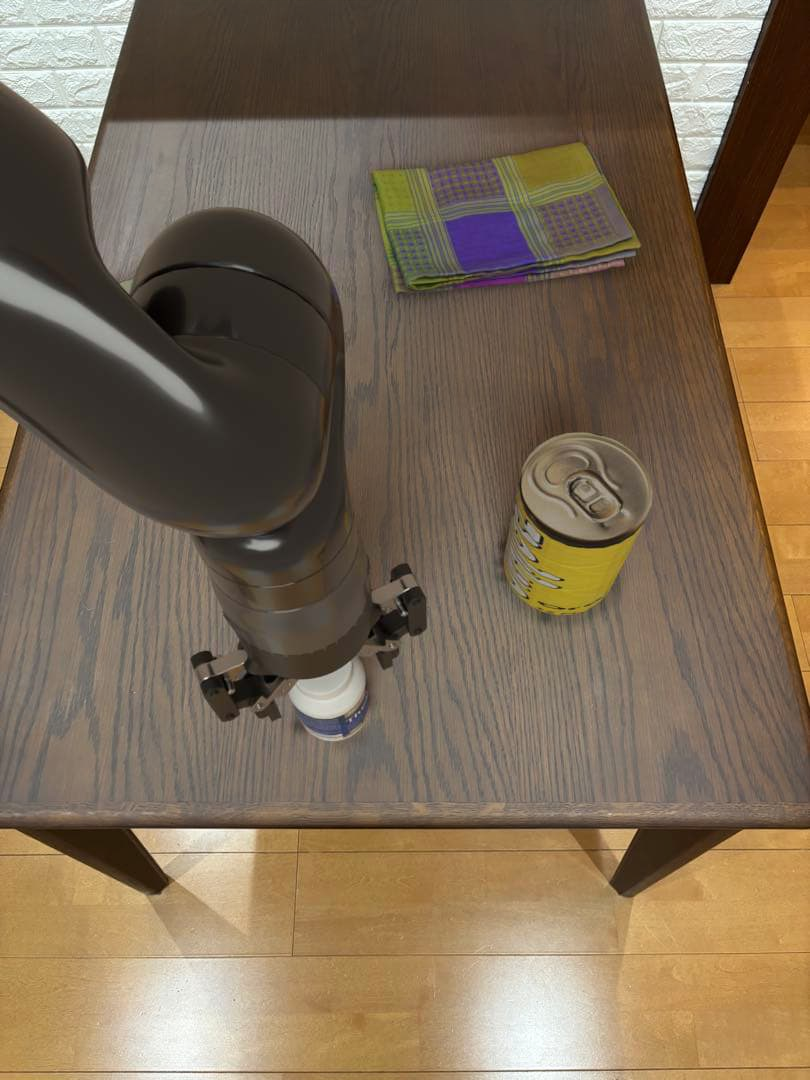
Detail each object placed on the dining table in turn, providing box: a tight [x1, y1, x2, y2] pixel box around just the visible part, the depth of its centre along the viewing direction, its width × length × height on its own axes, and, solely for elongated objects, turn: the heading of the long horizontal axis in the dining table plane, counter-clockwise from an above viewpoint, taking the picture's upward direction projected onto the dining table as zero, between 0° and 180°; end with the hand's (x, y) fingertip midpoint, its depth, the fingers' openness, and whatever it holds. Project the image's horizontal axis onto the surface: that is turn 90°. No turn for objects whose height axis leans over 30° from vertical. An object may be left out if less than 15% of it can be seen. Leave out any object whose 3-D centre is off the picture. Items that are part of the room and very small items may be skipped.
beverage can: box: [502, 431, 654, 616], centre depth 61 cm, size 9×9×12 cm
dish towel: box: [370, 141, 642, 296], centre depth 83 cm, size 18×24×3 cm
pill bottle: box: [287, 656, 371, 742], centre depth 57 cm, size 5×5×10 cm
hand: (327, 681), depth 56 cm, fingers open, 7 cm apart
